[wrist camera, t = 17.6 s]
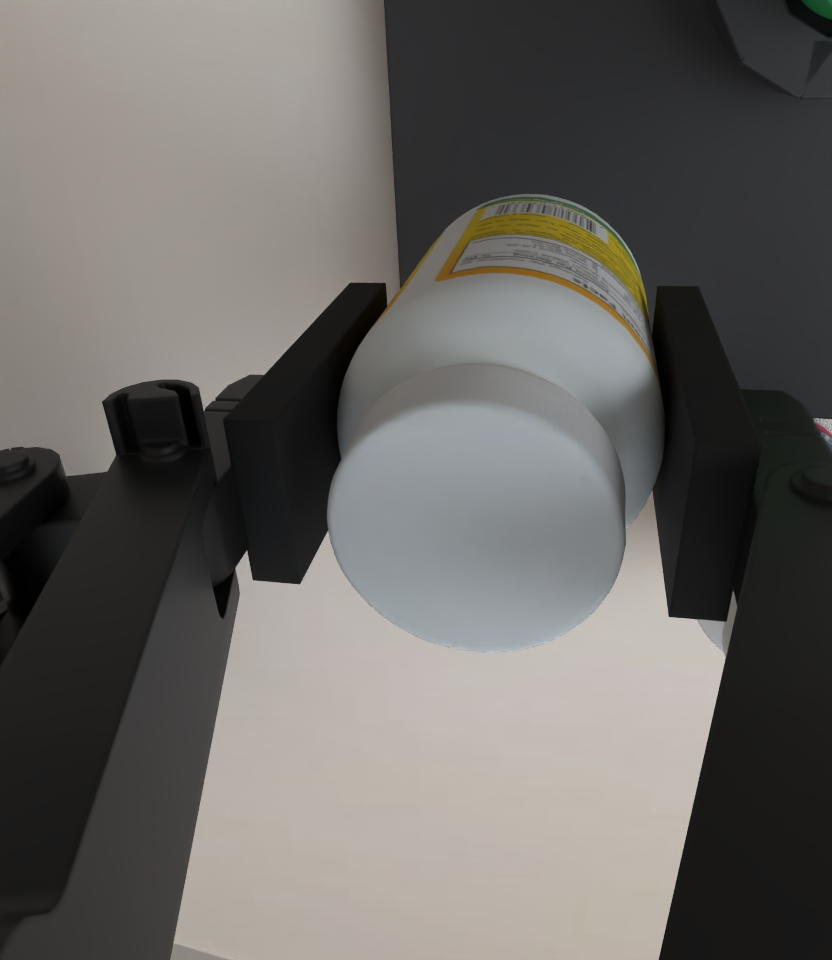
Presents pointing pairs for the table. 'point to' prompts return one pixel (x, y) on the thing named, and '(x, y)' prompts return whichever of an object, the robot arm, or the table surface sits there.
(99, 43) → the table surface
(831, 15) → the button
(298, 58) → the table surface
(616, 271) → the supplement bottle
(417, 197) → the scale
